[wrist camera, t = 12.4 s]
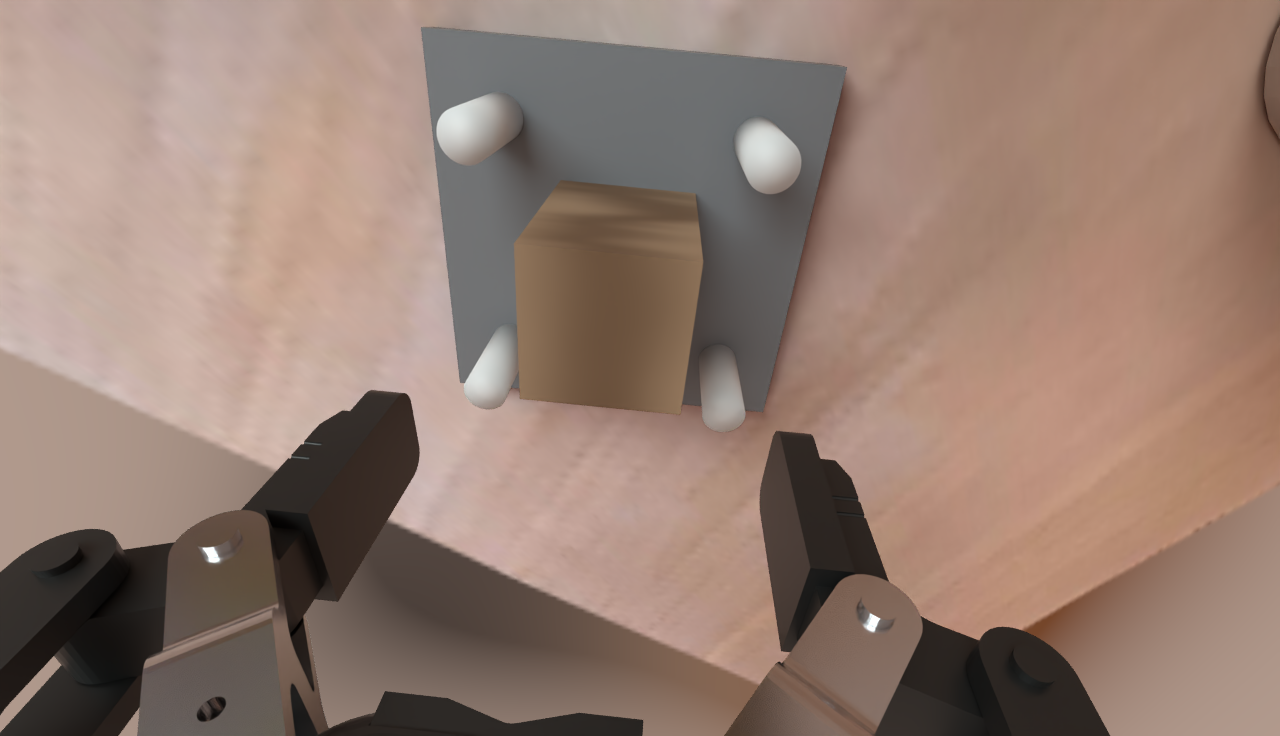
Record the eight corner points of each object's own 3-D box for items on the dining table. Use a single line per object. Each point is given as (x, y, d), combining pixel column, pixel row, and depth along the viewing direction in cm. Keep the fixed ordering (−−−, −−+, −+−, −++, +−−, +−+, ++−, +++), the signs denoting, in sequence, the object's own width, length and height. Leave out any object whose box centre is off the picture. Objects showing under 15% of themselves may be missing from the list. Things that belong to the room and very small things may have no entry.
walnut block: (695, 193, 21) (703, 262, 15) (679, 314, 23) (680, 414, 17) (560, 179, 21) (514, 243, 15) (559, 302, 23) (520, 398, 17)
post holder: (837, 65, 19) (886, 77, 15) (759, 397, 27) (776, 471, 22) (434, 27, 19) (362, 28, 15) (468, 368, 27) (426, 437, 22)
